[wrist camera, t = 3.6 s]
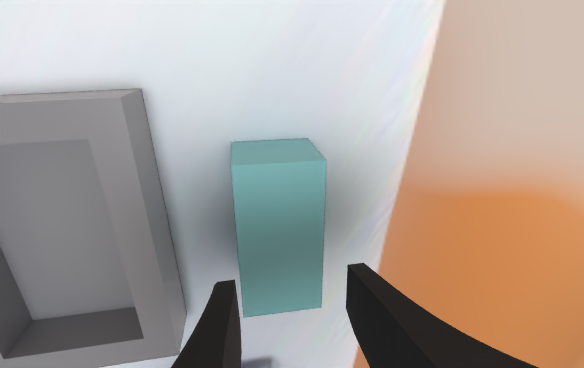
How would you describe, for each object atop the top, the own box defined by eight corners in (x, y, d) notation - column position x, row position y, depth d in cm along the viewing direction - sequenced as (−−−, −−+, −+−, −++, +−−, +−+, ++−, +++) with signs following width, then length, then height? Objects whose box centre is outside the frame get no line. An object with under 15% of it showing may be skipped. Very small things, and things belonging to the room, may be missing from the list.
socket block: (186, 313, 20) (179, 354, 17) (18, 337, 19) (-19, 386, 16) (141, 88, 15) (120, 97, 12) (-96, 100, 14) (-178, 112, 11)
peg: (305, 261, 20) (321, 307, 17) (241, 268, 20) (243, 317, 16) (306, 137, 17) (326, 160, 14) (231, 141, 17) (230, 166, 13)
